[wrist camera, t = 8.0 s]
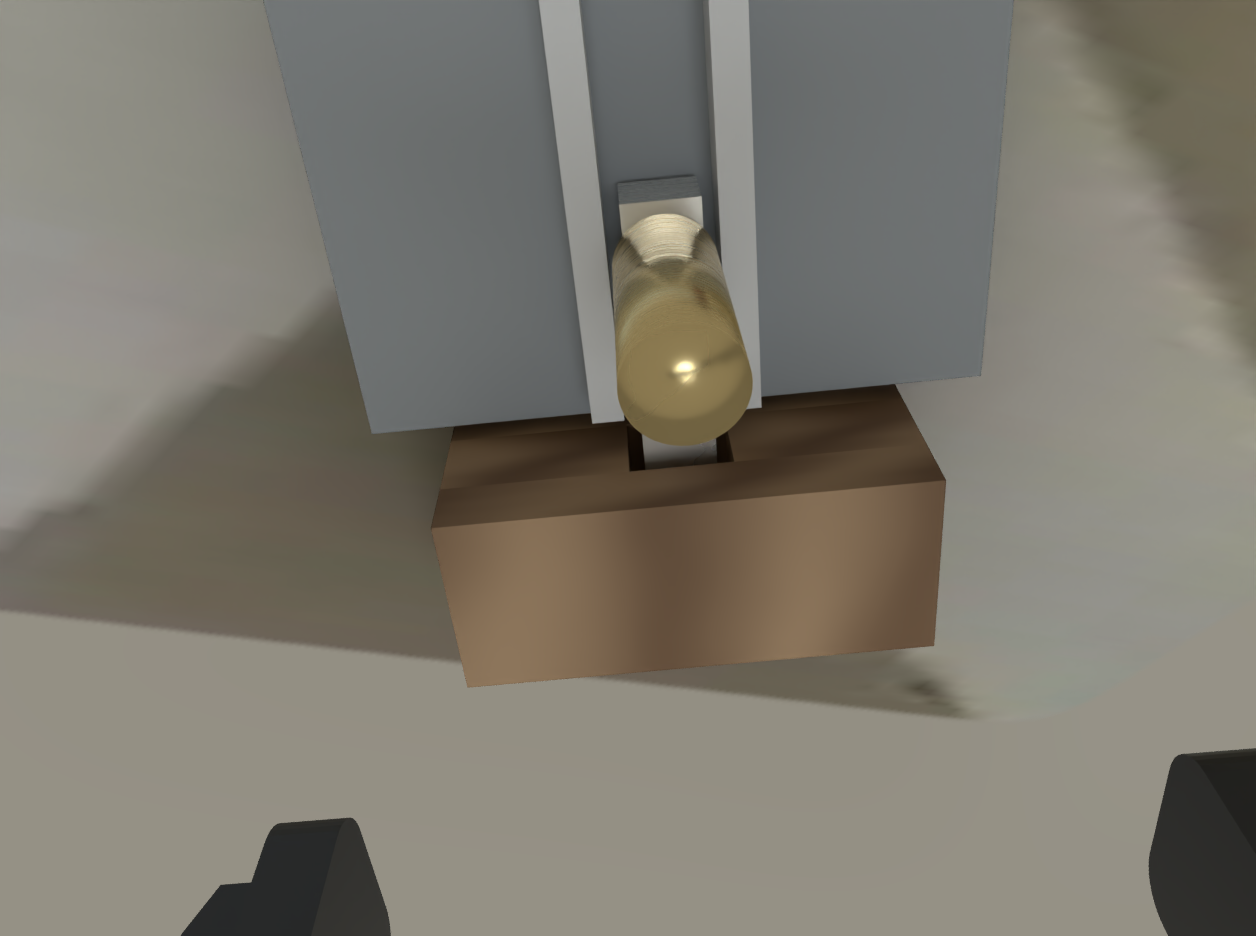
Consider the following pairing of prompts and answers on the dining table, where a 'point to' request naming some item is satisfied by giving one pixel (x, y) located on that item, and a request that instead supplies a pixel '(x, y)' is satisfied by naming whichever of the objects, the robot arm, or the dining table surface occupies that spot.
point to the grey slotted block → (638, 151)
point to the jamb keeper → (690, 541)
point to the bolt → (674, 326)
